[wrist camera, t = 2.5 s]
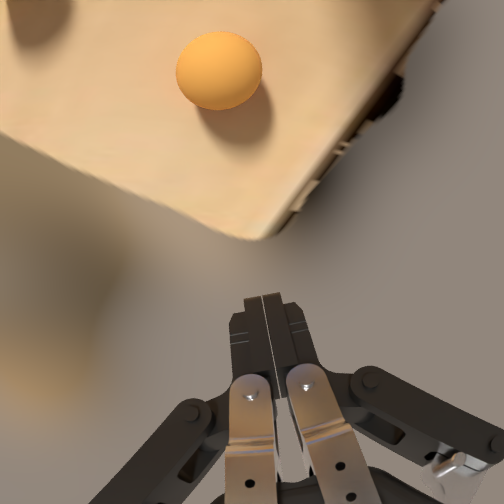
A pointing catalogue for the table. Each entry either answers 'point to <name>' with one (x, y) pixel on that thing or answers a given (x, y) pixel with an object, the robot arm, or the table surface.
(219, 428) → the robot arm
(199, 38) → the ball
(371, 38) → the table surface
